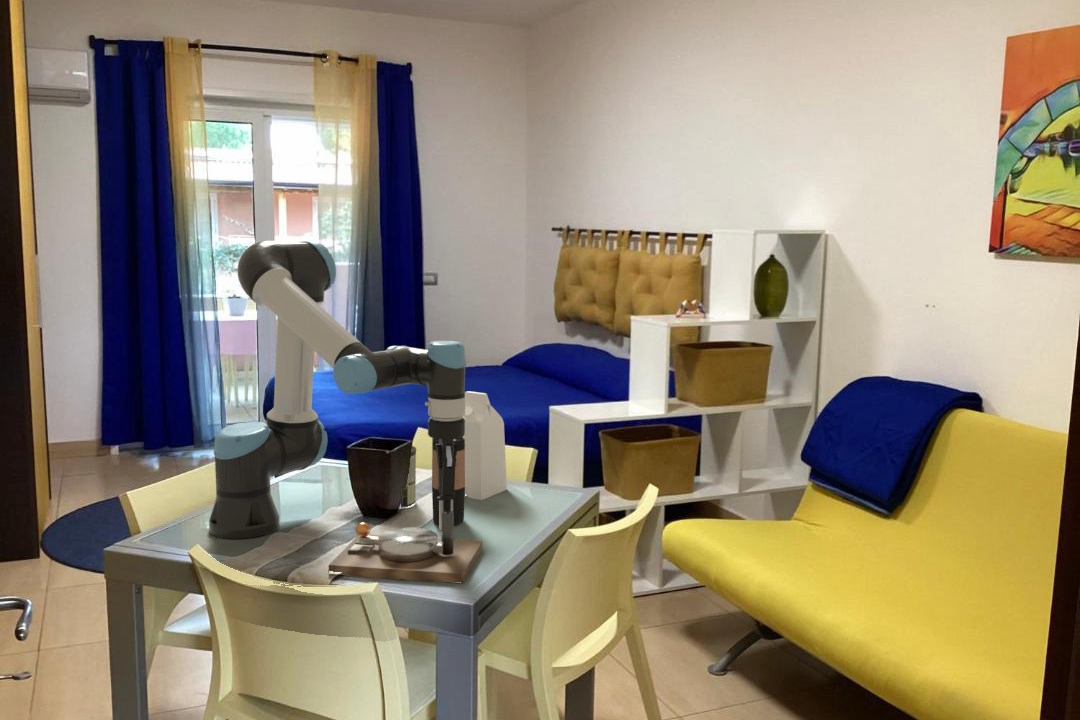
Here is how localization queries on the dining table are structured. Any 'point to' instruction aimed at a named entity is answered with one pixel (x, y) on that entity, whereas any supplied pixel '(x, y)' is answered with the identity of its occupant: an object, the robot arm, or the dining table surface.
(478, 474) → the milk
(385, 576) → the stand
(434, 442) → the travel mug
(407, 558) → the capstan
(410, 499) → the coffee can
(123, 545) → the dining table surface
